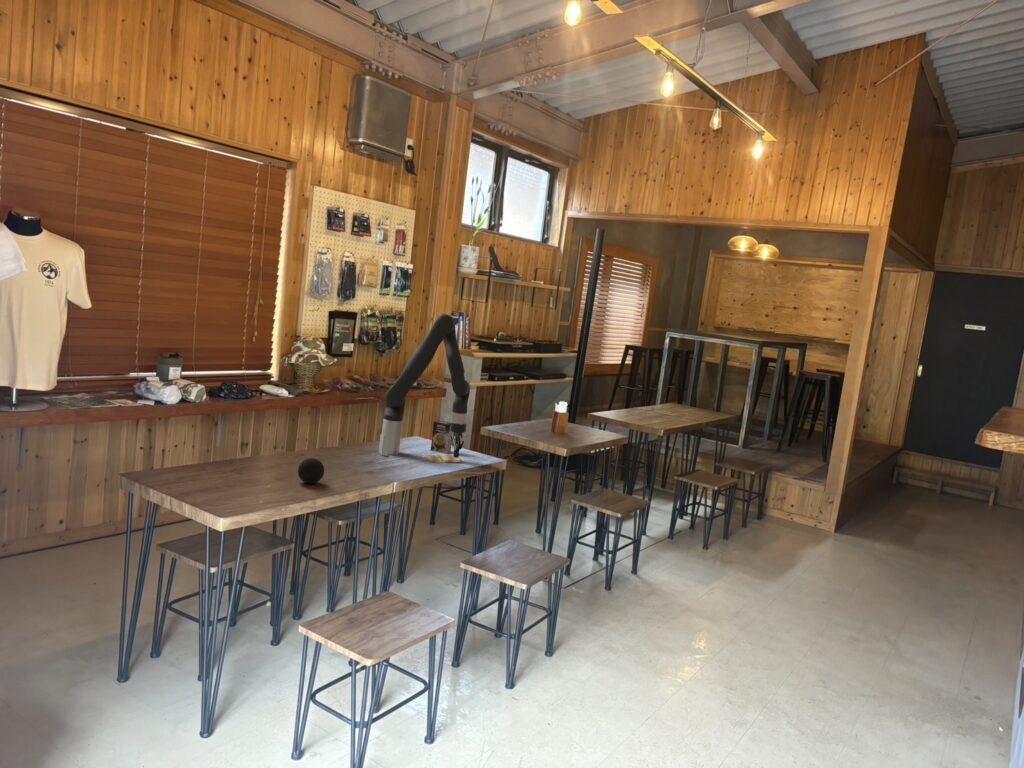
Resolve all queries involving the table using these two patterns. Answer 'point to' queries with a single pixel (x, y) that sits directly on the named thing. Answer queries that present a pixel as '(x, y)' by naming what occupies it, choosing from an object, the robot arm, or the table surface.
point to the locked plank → (433, 459)
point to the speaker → (311, 470)
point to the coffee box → (441, 437)
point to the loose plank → (449, 458)
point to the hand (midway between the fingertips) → (456, 457)
